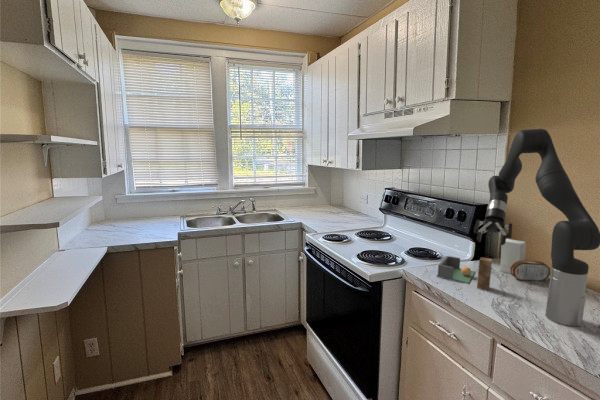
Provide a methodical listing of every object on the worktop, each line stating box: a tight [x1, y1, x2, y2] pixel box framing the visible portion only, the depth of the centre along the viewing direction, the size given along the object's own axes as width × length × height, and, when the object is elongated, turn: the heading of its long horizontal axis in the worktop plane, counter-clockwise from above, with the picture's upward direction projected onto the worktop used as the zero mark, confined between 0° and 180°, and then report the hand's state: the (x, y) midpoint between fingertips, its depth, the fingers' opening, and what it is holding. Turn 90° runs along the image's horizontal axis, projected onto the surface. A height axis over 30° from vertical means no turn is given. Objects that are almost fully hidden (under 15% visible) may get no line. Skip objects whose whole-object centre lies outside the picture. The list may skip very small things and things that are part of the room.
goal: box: [435, 255, 476, 284], centre depth 149 cm, size 13×16×5 cm
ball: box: [460, 266, 472, 276], centre depth 147 cm, size 4×4×4 cm
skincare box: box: [499, 238, 527, 275], centre depth 151 cm, size 8×6×15 cm
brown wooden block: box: [476, 256, 493, 291], centre depth 134 cm, size 4×4×12 cm
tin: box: [510, 260, 551, 282], centre depth 143 cm, size 15×3×8 cm, turn 84°
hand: (490, 242), depth 142 cm, fingers open, 8 cm apart
